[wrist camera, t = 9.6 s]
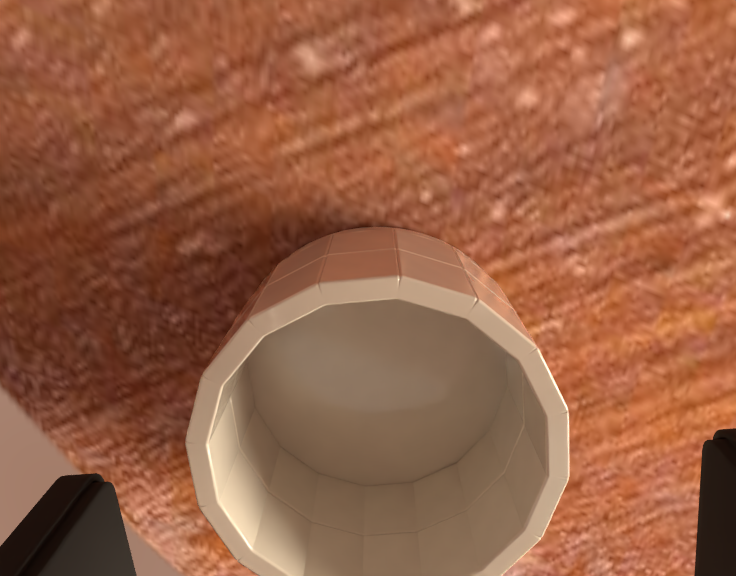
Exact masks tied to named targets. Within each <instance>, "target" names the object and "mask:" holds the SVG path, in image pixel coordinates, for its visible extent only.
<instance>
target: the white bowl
mask: <svg viewBox="0 0 736 576" xmlns="http://www.w3.org/2000/svg"><path fill="white" fill-rule="evenodd" d="M185 440H186V443H185V445H186V450H187V455H188V460H189V465H190V469H191V474H192V479H193V484H194V489H195V494H196V499H197V504H198V506H199V508H200V510H201V512H202V513H203V514H204V516H205V517H206V519H207V520H208V521H209V523H210V524H211V526H212V527H213V529H214V530H215V531H216V533H217V534H218V536H219V537H220V538H221V540H222V541H223V543H224V544H225V545H226V547H227V548H228V550H229V551H230V552H231V554H232V555H233V557H234V558H235V559H236V560H238V562H239V563H240V564H242V565H243V566H245V567H246V568H248V569H249V570H251V571H252V572H254V573H255V574H257V575H258V576H502V575H503V574H504V573H505V572H506V571H507V570H508V569H509V568H510V567H511V566H513V565H514V564H515V563H516V562H517V561H518V560H519V559H520V558H521V557H522V556H523V555H524V554H525V553H527V552H528V551H529V550H530V549H531V548H532V547H533V546H534V545H535V544H536V543H537V542H538V541H540V539H541V537H543V535H544V533H545V530H546V528H547V526H548V524H549V522H550V519H551V517H552V515H553V513H554V511H555V508H556V506H557V504H558V502H559V500H560V497H561V495H562V493H563V491H564V489H565V487H566V484H567V482H568V477H569V475H570V472H569V411H568V407H567V405H566V403H565V401H564V399H563V397H562V395H561V393H560V391H559V389H558V386H557V384H556V382H555V380H554V378H553V376H552V374H551V372H550V370H549V368H548V366H547V364H546V362H545V360H544V358H543V356H542V354H541V352H540V350H539V348H538V346H537V345H536V343H535V342H534V340H533V339H532V337H531V335H530V334H529V332H528V331H527V329H526V327H525V326H524V324H523V323H522V321H521V319H520V318H519V316H518V315H517V313H516V312H515V310H514V308H513V307H512V305H511V304H510V302H509V300H508V299H507V297H506V296H505V294H504V292H503V291H502V289H501V288H500V286H499V285H498V284H497V282H495V281H494V280H493V279H492V278H491V277H489V276H488V274H487V273H486V272H485V271H484V270H483V269H482V268H481V267H480V266H479V265H477V264H476V263H475V262H474V261H473V260H472V259H471V258H469V257H468V256H466V255H465V254H464V253H462V252H461V251H459V250H458V249H456V248H455V247H453V246H451V245H449V244H447V243H445V242H443V241H441V240H439V239H437V238H434V237H431V236H429V235H426V234H423V233H419V232H415V231H411V230H407V229H401V228H391V227H362V228H356V229H350V230H344V231H340V232H337V233H334V234H330V235H327V236H324V237H322V238H320V239H317V240H315V241H313V242H311V243H308V244H306V245H305V246H303V247H302V248H300V249H298V250H297V251H295V252H293V253H292V254H290V255H289V256H288V257H287V258H286V259H284V260H283V261H281V262H280V263H279V264H277V265H276V267H275V268H274V269H273V270H272V271H271V272H270V274H269V275H268V276H267V277H266V278H265V279H264V280H263V282H262V283H261V284H260V286H259V287H258V289H257V290H256V291H255V293H254V294H253V295H252V296H251V298H250V299H249V300H248V301H247V303H246V304H245V305H244V307H243V308H242V310H241V312H240V313H239V315H238V316H237V318H236V320H235V321H234V323H233V325H232V326H231V328H230V329H229V331H228V333H227V335H226V336H225V338H224V339H223V341H222V342H221V344H220V346H219V347H218V349H217V351H216V352H215V354H214V355H213V357H212V359H211V360H210V362H209V364H208V365H207V367H206V368H205V370H204V372H203V374H202V376H201V378H200V381H199V386H198V390H197V394H196V398H195V402H194V406H193V410H192V414H191V418H190V422H189V426H188V430H187V434H186V438H185Z"/></svg>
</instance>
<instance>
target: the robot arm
mask: <svg viewBox="0 0 736 576" xmlns="http://www.w3.org/2000/svg"><path fill="white" fill-rule="evenodd" d="M0 576H136V572H135V568H134V564H133V560H132V556H131V552H130V548H129V544H128V540H127V536H126V532H125V528H124V524H123V520H122V516H121V512H120V508H119V504H118V500H117V496H116V492H115V488H114V486H113V485H112V483H110V482H104V479H103V478H102V477H101V475H99V474H97V473H95V474H81V475H67V476H61V477H60V478H58V479H57V480H56V481H55V483H54V484H53V485H52V486H51V487H50V488H49V490H48V491H47V492H46V493H45V494H44V495H43V497H42V498H41V499H40V501H38V503H37V504H36V505H35V506H34V507H33V509H32V510H31V511H30V512H29V513H28V515H27V516H26V517H25V518H24V519H23V520H22V522H21V523H20V524H19V525H18V526H17V527H16V529H15V530H14V531H13V532H12V533H11V535H10V536H9V537H8V538H7V539H6V541H5V542H4V543H3V544H2V545H1V546H0ZM695 576H736V429H722V430H718V431H717V432H716V433H715V435H714V437H713V440H707V441H705V443H704V445H703V450H702V465H701V481H700V497H699V513H698V529H697V546H696V562H695Z"/></svg>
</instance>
